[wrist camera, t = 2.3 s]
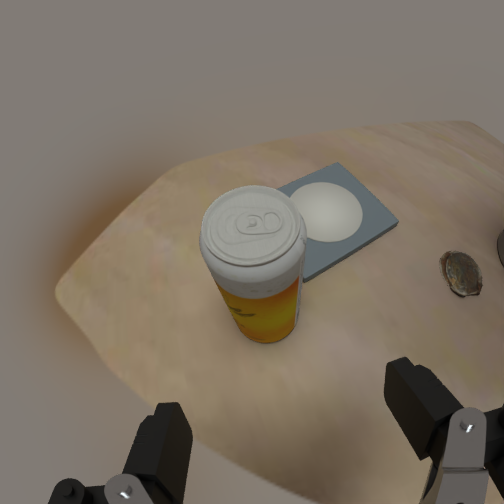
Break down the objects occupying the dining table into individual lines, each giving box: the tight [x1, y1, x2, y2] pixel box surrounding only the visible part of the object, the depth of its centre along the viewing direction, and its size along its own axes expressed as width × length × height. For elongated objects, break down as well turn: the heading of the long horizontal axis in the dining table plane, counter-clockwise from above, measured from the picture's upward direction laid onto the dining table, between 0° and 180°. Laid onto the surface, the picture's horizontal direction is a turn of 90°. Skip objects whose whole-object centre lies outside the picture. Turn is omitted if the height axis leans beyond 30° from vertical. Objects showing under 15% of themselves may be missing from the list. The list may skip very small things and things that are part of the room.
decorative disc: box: [440, 251, 482, 297], centre depth 27 cm, size 7×6×1 cm
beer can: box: [199, 185, 307, 343], centre depth 21 cm, size 6×6×15 cm
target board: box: [276, 162, 399, 283], centre depth 33 cm, size 14×12×1 cm
